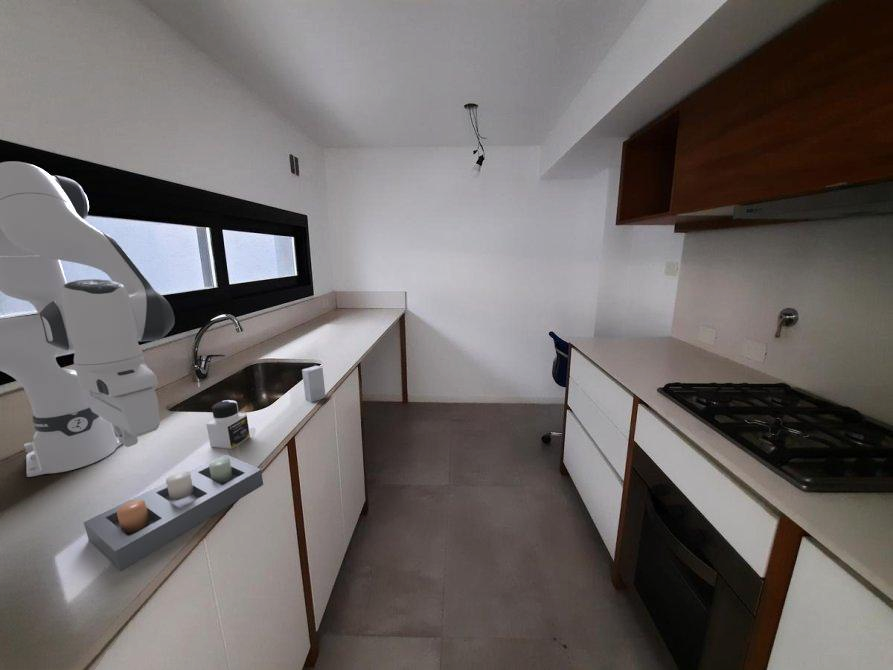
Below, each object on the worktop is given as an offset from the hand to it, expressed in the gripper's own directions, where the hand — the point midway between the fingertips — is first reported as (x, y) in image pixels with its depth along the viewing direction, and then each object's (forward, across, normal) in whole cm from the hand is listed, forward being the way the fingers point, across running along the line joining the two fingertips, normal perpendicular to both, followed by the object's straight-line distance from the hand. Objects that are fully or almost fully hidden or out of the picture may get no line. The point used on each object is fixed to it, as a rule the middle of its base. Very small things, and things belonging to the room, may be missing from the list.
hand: (128, 443), depth 66 cm
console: (+18, +2, +6) cm, 19 cm away
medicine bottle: (+19, -19, +27) cm, 38 cm away
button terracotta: (+16, +2, -2) cm, 16 cm away
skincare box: (+19, -22, +60) cm, 66 cm away
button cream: (+14, +1, +6) cm, 15 cm away
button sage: (+15, +1, +14) cm, 21 cm away
